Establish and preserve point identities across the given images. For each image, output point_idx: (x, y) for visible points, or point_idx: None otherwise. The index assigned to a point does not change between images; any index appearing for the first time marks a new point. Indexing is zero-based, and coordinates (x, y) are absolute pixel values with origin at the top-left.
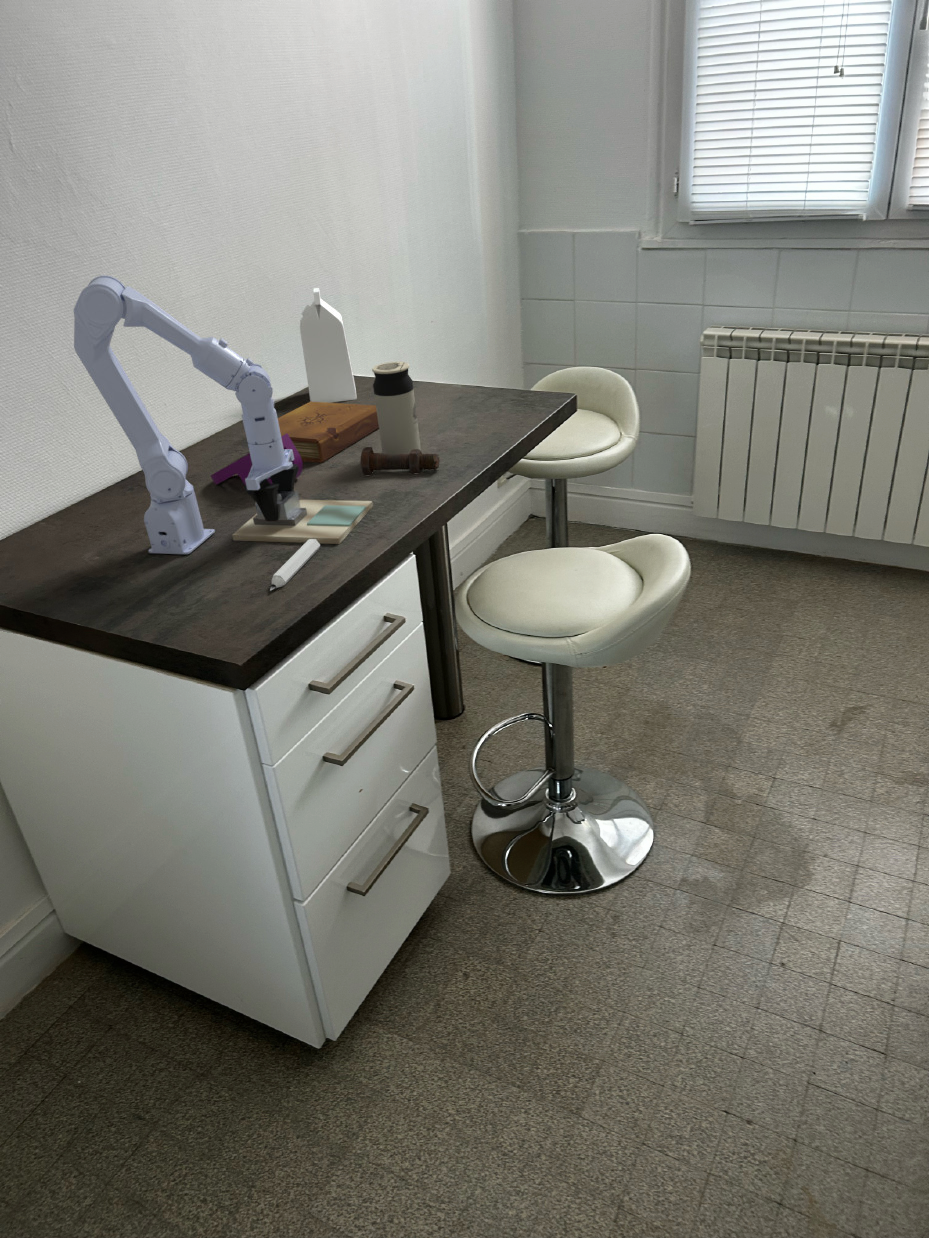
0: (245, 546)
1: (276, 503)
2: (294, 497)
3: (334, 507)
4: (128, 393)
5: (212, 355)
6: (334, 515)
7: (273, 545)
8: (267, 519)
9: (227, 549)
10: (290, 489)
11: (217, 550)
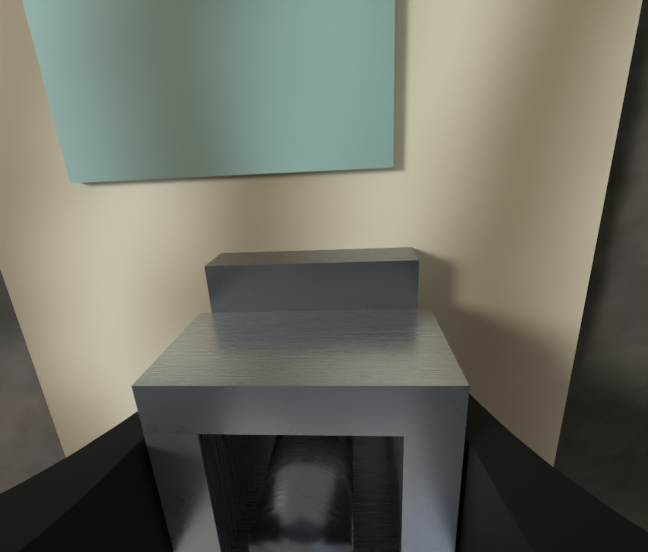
0: (607, 428)
1: (492, 458)
2: (227, 369)
3: (81, 79)
4: None
5: None
6: None
7: (613, 287)
8: None
9: (634, 492)
10: (129, 465)
11: (640, 527)
